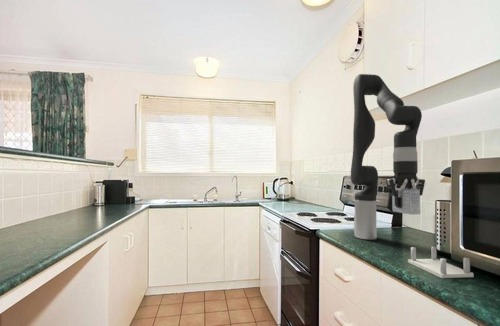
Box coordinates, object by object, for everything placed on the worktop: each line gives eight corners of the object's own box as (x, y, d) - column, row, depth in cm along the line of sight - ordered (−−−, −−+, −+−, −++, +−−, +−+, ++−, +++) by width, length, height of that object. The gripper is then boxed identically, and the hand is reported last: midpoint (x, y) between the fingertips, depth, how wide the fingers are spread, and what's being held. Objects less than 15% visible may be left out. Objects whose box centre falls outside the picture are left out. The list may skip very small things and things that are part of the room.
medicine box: (420, 214, 89) (420, 189, 89) (410, 214, 88) (410, 189, 88) (401, 211, 96) (401, 188, 97) (392, 211, 95) (391, 188, 96)
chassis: (408, 262, 85) (407, 247, 85) (435, 261, 86) (435, 246, 86) (441, 278, 72) (441, 260, 72) (473, 276, 73) (473, 259, 73)
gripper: (415, 161, 97) (416, 206, 97) (380, 160, 96) (380, 206, 95) (431, 160, 90) (432, 209, 89) (393, 159, 88) (394, 209, 88)
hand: (405, 207), depth 92 cm, fingers closed on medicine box, 5 cm apart
